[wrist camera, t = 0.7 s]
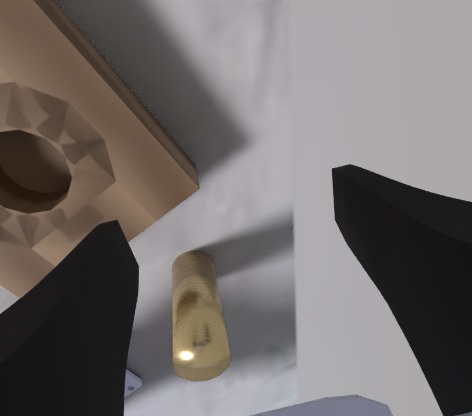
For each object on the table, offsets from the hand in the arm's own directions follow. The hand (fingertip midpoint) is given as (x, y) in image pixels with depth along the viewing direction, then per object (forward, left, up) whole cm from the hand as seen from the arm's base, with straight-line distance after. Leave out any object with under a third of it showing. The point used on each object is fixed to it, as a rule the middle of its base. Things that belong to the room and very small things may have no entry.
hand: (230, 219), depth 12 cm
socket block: (-8, +5, -11) cm, 14 cm away
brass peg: (-7, -7, -11) cm, 14 cm away
